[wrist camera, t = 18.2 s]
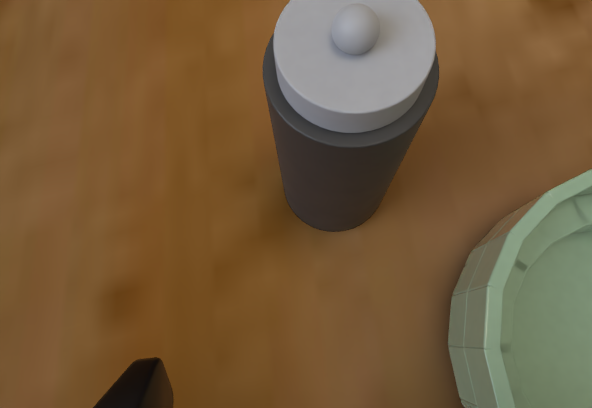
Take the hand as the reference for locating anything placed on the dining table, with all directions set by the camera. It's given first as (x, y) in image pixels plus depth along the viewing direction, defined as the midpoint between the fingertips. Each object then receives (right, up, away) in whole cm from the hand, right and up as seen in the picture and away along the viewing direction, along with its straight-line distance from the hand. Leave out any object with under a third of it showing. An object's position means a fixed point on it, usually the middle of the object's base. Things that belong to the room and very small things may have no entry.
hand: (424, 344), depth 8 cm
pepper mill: (0, +3, +15) cm, 16 cm away
